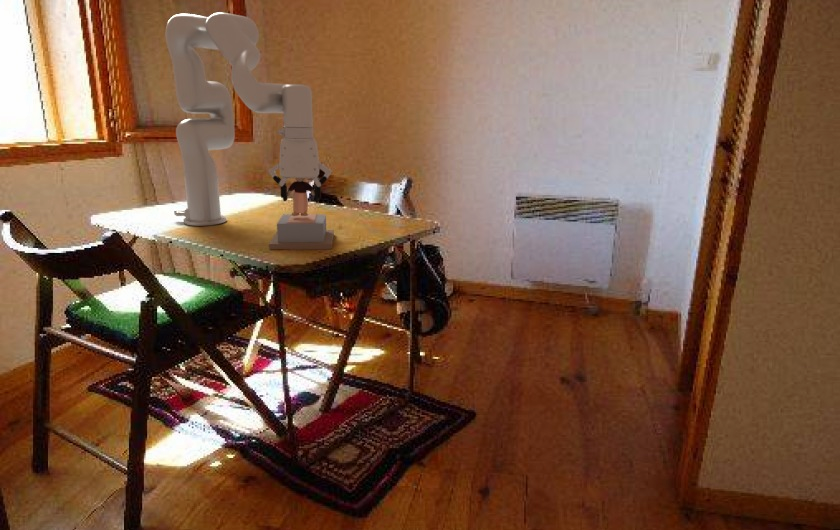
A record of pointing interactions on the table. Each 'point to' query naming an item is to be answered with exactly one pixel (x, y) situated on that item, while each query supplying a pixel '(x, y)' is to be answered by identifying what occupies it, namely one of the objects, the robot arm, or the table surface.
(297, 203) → the grandmother figurine
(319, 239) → the plinth
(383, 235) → the table surface
